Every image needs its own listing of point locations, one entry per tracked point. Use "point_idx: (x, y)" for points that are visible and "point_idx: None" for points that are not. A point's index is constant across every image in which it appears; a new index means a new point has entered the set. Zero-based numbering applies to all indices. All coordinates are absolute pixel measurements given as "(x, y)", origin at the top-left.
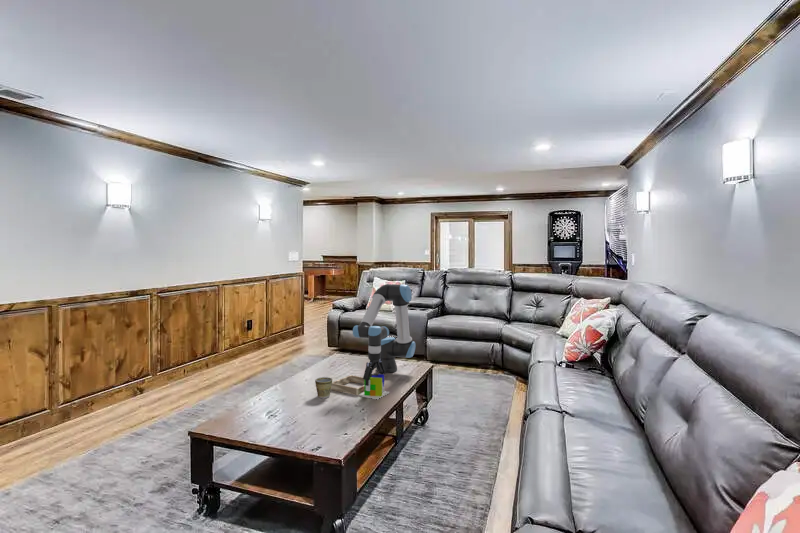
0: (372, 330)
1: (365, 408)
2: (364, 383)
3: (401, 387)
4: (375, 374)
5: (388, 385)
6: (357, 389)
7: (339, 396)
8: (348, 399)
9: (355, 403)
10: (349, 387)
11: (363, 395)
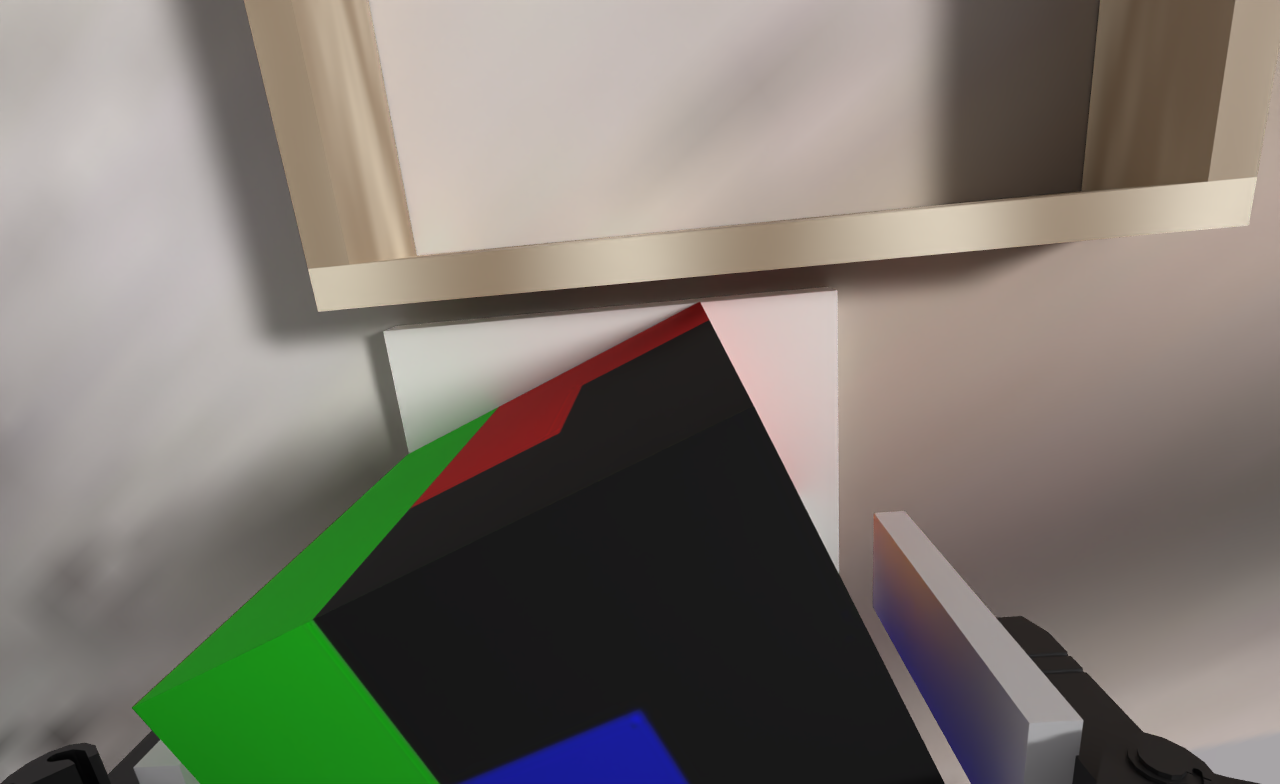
0: None
1: (103, 745)
2: (262, 591)
3: (1253, 637)
4: (848, 717)
5: (1275, 380)
6: (326, 300)
7: (80, 15)
8: (125, 301)
9: (106, 524)
10: (255, 23)
11: (407, 432)
